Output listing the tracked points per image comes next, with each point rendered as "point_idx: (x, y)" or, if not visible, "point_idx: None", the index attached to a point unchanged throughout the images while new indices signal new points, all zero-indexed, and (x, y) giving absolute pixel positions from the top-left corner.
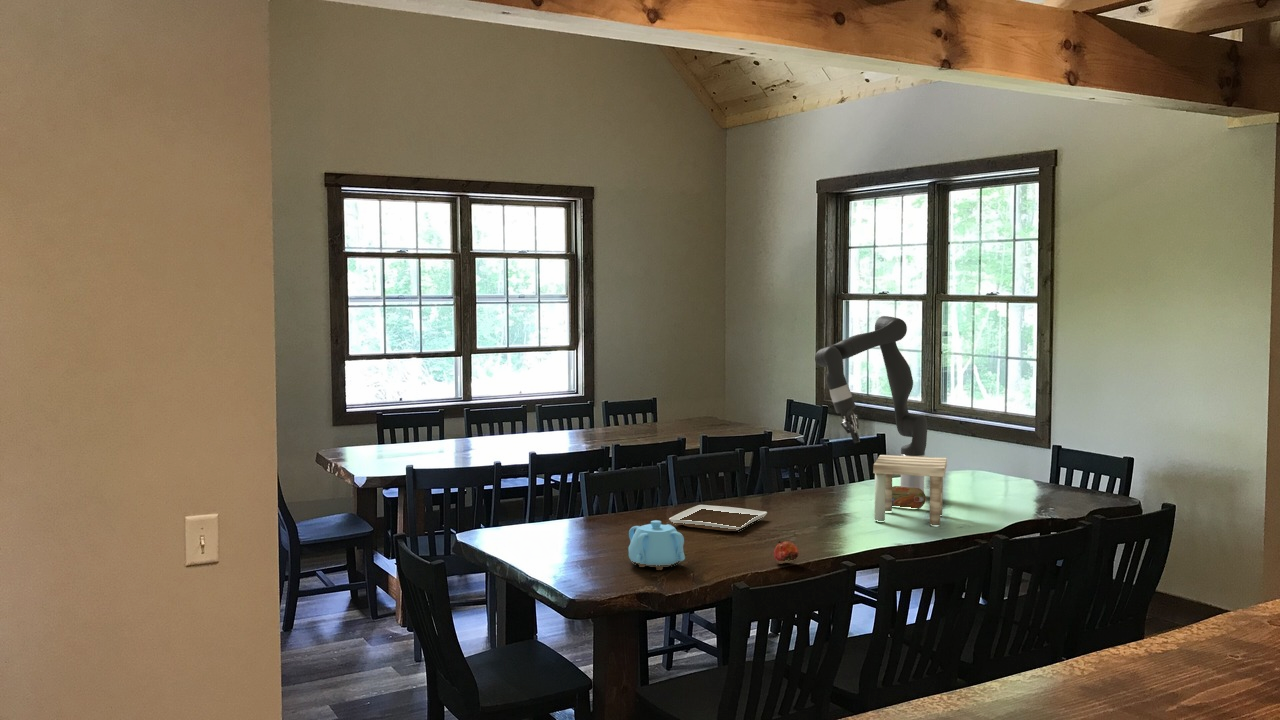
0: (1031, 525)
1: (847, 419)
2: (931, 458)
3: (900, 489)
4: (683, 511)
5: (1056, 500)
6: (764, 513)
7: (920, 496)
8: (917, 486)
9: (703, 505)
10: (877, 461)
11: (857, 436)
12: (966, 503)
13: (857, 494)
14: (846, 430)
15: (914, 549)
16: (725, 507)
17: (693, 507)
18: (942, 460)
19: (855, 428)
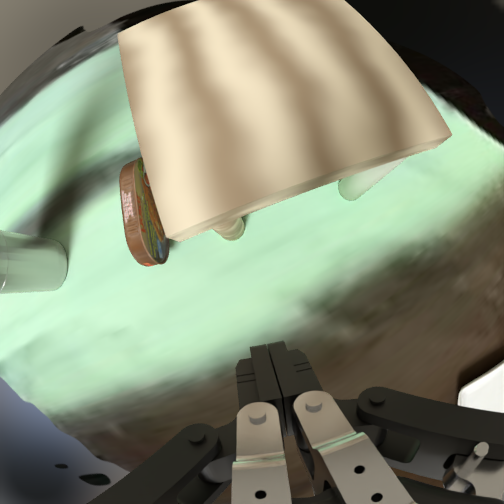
0: None
1: (479, 495)
2: (151, 43)
3: (140, 218)
4: None
5: (20, 94)
6: (473, 382)
7: (143, 168)
8: (43, 242)
9: None
10: (381, 146)
11: (291, 366)
12: (60, 152)
13: (95, 378)
14: (413, 437)
15: (449, 86)
16: None
17: None
18: (178, 12)
19: (280, 435)
